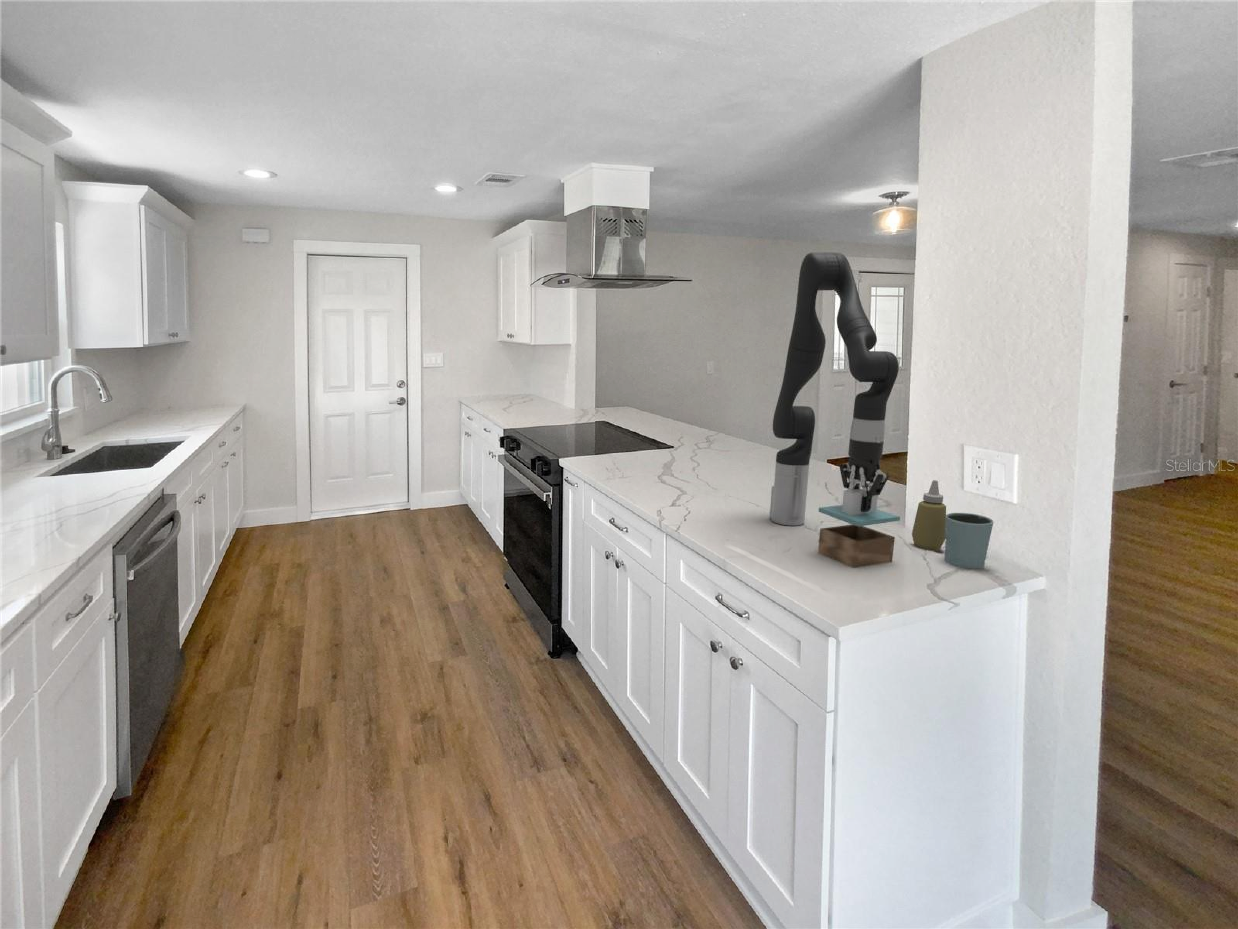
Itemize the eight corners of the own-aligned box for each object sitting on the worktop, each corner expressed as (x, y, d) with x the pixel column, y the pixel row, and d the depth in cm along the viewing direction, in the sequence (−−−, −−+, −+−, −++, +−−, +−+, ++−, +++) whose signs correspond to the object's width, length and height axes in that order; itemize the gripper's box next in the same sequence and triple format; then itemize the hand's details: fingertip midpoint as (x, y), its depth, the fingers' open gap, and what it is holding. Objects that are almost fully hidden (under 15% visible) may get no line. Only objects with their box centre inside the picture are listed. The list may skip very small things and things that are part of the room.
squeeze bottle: (941, 546, 186) (949, 479, 183) (946, 555, 179) (955, 485, 175) (908, 543, 188) (916, 476, 185) (911, 552, 181) (919, 482, 177)
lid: (818, 514, 173) (820, 486, 172) (858, 509, 179) (861, 482, 178) (858, 529, 162) (861, 499, 161) (899, 523, 168) (902, 494, 167)
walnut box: (817, 556, 175) (820, 528, 174) (854, 550, 180) (857, 523, 179) (853, 571, 164) (856, 542, 163) (891, 565, 170) (894, 537, 168)
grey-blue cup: (992, 567, 171) (999, 518, 169) (979, 577, 164) (986, 526, 162) (948, 557, 178) (953, 510, 176) (933, 566, 170) (939, 517, 168)
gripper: (833, 433, 171) (826, 503, 175) (878, 443, 159) (870, 518, 162) (856, 432, 174) (849, 501, 178) (902, 442, 162) (893, 515, 166)
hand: (859, 509), depth 170 cm, fingers closed on lid, 3 cm apart
